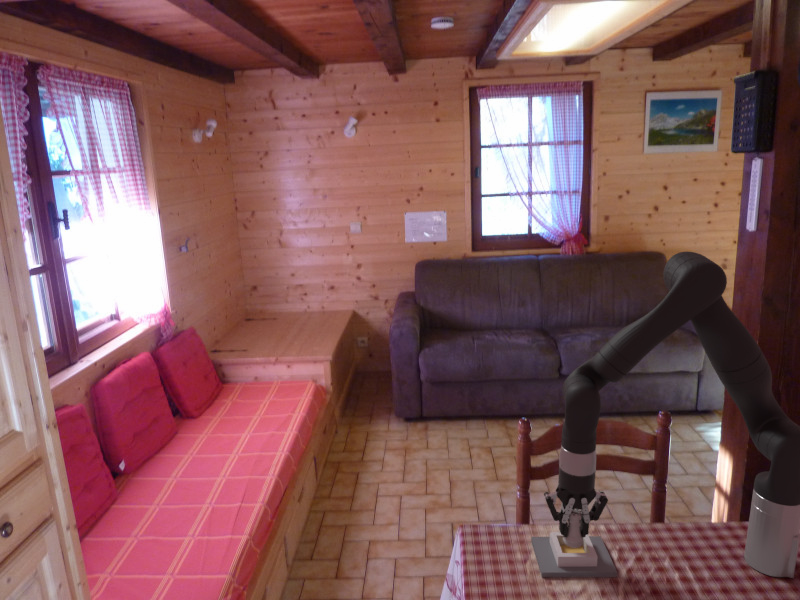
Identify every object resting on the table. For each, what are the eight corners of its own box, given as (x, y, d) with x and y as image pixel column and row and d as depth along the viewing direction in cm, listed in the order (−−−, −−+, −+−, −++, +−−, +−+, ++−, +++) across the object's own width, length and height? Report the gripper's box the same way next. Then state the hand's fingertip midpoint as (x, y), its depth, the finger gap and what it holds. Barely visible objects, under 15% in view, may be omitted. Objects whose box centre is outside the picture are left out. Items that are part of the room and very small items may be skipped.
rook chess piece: (584, 550, 129) (586, 518, 127) (563, 547, 130) (564, 516, 128) (582, 537, 133) (584, 505, 131) (562, 535, 134) (563, 504, 132)
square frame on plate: (600, 540, 138) (601, 526, 137) (617, 576, 127) (618, 562, 126) (531, 541, 139) (531, 527, 138) (541, 577, 127) (542, 562, 126)
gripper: (547, 475, 124) (545, 546, 128) (616, 474, 123) (611, 546, 127) (540, 456, 131) (538, 524, 135) (605, 456, 130) (600, 524, 135)
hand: (573, 534), depth 131 cm, fingers closed on rook chess piece, 3 cm apart
